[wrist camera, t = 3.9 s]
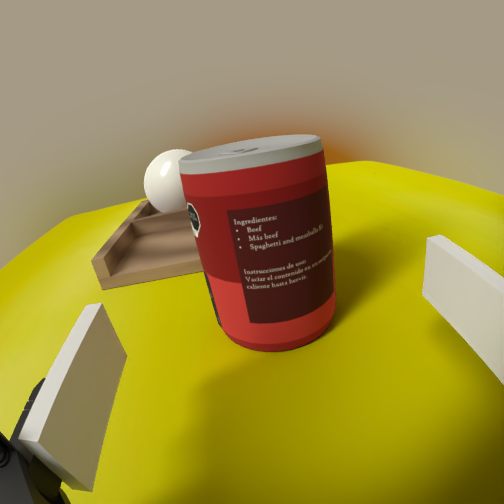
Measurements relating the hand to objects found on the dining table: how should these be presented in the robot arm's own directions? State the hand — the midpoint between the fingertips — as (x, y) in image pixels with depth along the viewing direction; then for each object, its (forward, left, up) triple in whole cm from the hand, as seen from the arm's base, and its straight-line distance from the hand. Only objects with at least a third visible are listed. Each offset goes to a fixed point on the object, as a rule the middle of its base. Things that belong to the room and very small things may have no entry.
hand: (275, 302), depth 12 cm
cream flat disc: (-17, -29, -5) cm, 34 cm away
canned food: (-5, -5, -6) cm, 10 cm away
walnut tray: (-13, -25, -6) cm, 29 cm away
